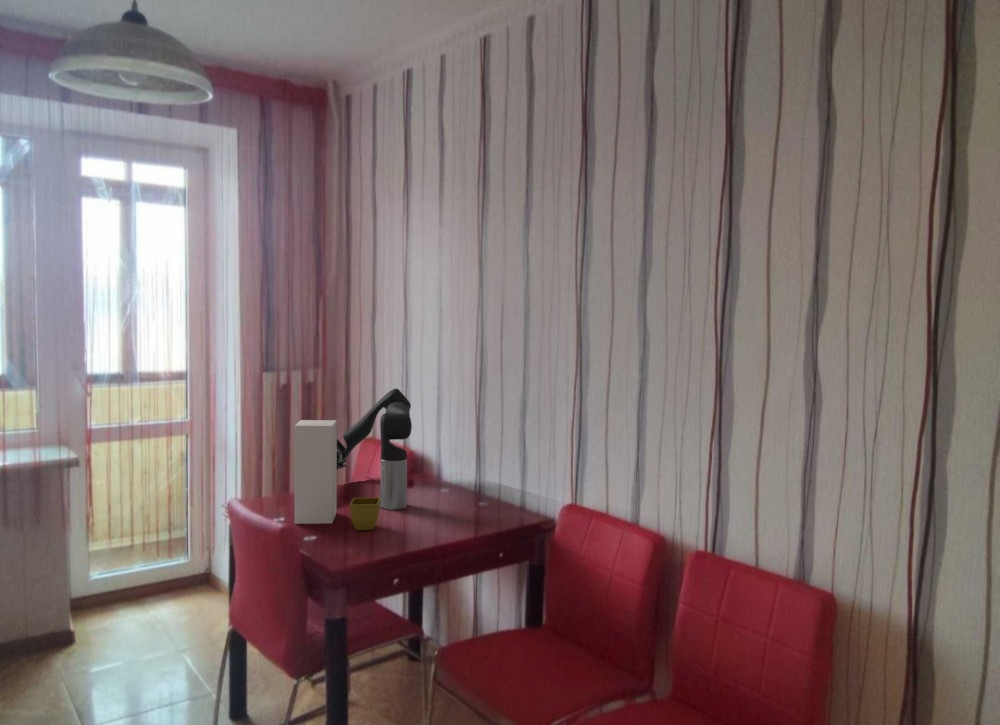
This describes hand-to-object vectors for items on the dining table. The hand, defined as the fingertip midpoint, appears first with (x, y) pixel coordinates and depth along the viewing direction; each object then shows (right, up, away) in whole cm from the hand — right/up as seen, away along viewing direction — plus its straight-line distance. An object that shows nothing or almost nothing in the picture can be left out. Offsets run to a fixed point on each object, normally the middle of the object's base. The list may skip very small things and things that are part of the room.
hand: (325, 468), depth 273 cm
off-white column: (+2, -13, -24) cm, 28 cm away
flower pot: (+21, -14, -34) cm, 42 cm away
